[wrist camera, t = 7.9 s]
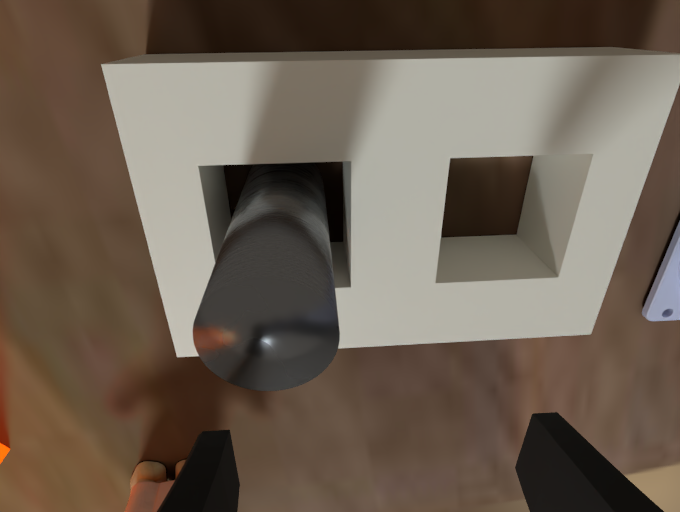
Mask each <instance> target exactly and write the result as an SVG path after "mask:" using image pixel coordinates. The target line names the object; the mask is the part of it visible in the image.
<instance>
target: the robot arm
mask: <svg viewBox="0 0 680 512" xmlns="http://www.w3.org/2000/svg"><path fill="white" fill-rule="evenodd" d="M642 314H643V316H644V317H645V318H647V319H648V320H649V321H667V320H680V221H679V223H678V226H677V228H676V230H675V233H674V235H673V238H672V240H671V243H670V245H669V247H668V250H667V252H666V255H665V257H664V259H663V262H662V264H661V267H660V269H659V271H658V274H657V276H656V279H655V281H654V283H653V286H652V288H651V291H650V293H649V296H648V298H647V300H646V303H645V305H644V308H643V310H642ZM515 469H516V472H517V475H518V478H519V481H520V484H521V487H522V490H523V493H524V496H525V499H526V502H527V504H528V507H529V510H530V512H664V511H663V510H661V509H660V508H659V507H658V506H657V505H656V504H655V503H654V502H652V501H651V500H650V499H649V498H648V497H647V496H646V495H645V494H644V493H642V492H641V491H640V490H639V489H638V488H637V487H636V486H635V485H634V484H633V483H631V482H630V481H629V480H628V479H627V478H626V477H625V476H624V475H623V474H622V473H621V472H620V471H618V470H617V469H616V468H615V467H614V466H613V465H612V464H611V463H610V462H609V461H608V460H607V459H606V458H605V457H604V456H603V455H601V454H600V453H599V452H598V451H597V450H596V449H595V448H594V447H593V446H592V445H591V444H590V443H589V442H588V441H587V440H586V439H585V438H584V437H583V436H581V435H580V434H579V433H578V432H577V431H576V430H575V429H574V428H573V427H572V426H571V425H570V424H569V423H568V422H567V421H566V420H565V419H564V418H562V417H561V416H560V415H559V414H558V413H557V412H555V413H537V414H532V417H531V420H530V423H529V426H528V429H527V432H526V435H525V438H524V442H523V445H522V448H521V451H520V454H519V457H518V460H517V463H516V467H515ZM239 486H240V484H239V478H238V473H237V467H236V462H235V456H234V451H233V446H232V440H231V435H230V430H220V431H203V432H202V433H200V434H199V435H198V437H197V440H196V442H195V444H194V446H193V448H192V450H191V452H190V453H189V455H188V457H187V459H186V461H185V463H184V465H183V467H182V469H181V470H180V472H179V474H178V476H177V478H176V479H175V481H174V483H173V485H172V487H171V488H170V490H169V492H168V494H167V495H166V497H165V499H164V500H163V502H162V504H161V505H160V507H159V509H158V510H157V512H237V508H238V497H239Z"/></svg>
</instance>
